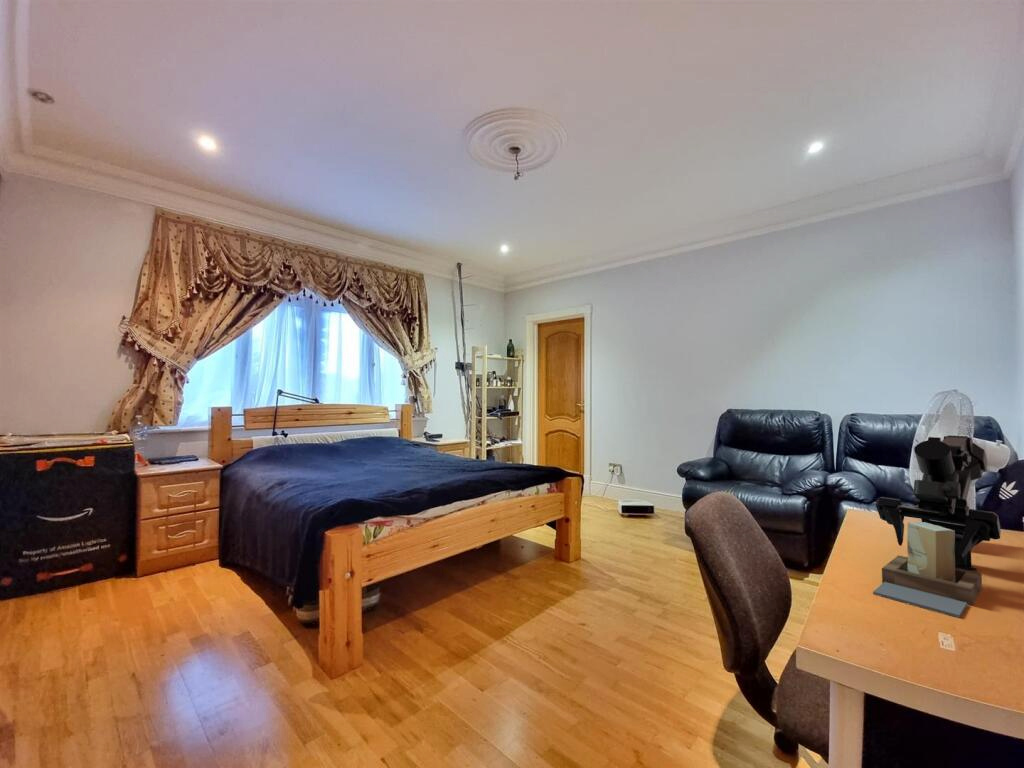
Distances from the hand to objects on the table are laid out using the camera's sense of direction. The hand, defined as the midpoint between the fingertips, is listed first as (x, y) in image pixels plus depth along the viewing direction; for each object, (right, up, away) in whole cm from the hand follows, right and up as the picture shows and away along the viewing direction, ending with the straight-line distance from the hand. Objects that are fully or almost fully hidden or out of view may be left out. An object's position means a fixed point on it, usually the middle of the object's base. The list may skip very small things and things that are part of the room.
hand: (928, 550), depth 90 cm
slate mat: (-8, -7, -6) cm, 12 cm away
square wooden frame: (+1, -7, 0) cm, 8 cm away
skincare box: (+1, -8, 0) cm, 8 cm away
